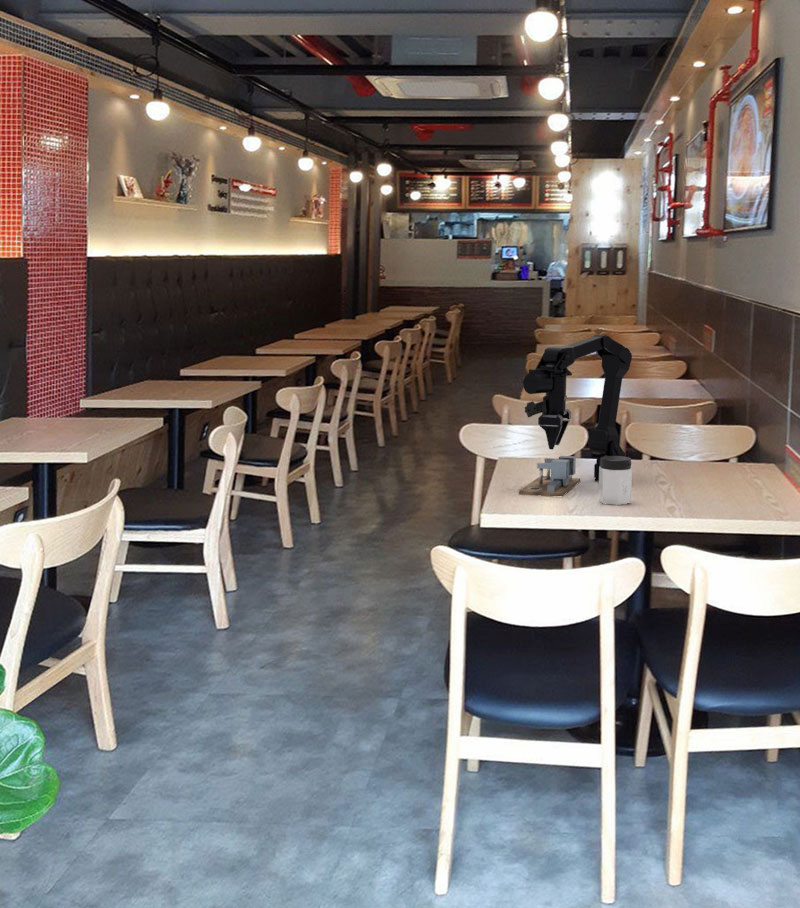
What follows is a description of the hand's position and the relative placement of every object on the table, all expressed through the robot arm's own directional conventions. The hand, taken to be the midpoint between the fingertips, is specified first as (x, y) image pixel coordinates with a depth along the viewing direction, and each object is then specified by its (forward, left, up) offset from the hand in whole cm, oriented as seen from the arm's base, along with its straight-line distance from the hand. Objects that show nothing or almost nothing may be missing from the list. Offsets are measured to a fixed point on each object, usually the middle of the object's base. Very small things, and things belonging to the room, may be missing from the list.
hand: (554, 447), depth 329 cm
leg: (0, -1, -11) cm, 11 cm away
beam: (0, -1, -11) cm, 11 cm away
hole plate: (+1, -2, -12) cm, 12 cm away
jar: (-20, +12, -12) cm, 26 cm away
